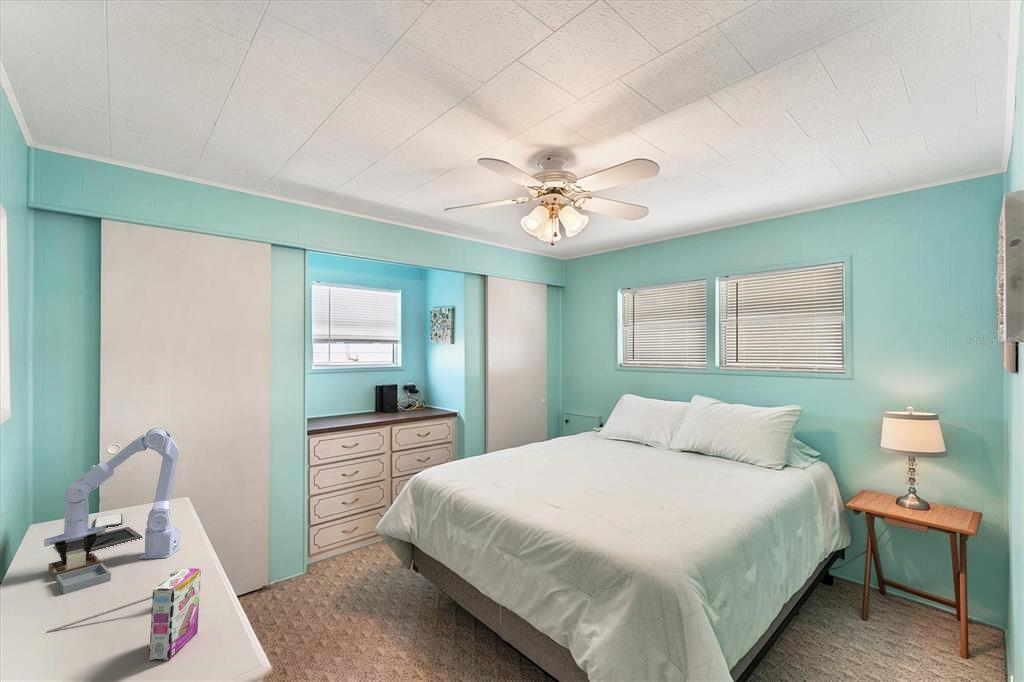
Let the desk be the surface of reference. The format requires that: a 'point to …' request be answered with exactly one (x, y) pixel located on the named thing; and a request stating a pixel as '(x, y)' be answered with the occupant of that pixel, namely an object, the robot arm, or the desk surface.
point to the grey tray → (83, 578)
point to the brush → (105, 611)
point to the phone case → (108, 521)
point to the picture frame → (105, 539)
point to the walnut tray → (58, 568)
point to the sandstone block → (75, 559)
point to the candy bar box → (174, 614)
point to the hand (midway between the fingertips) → (74, 561)
